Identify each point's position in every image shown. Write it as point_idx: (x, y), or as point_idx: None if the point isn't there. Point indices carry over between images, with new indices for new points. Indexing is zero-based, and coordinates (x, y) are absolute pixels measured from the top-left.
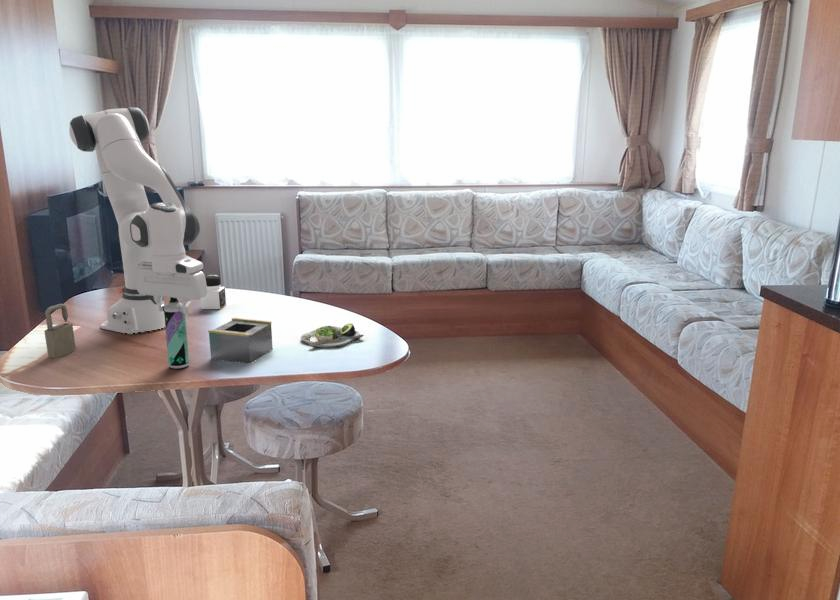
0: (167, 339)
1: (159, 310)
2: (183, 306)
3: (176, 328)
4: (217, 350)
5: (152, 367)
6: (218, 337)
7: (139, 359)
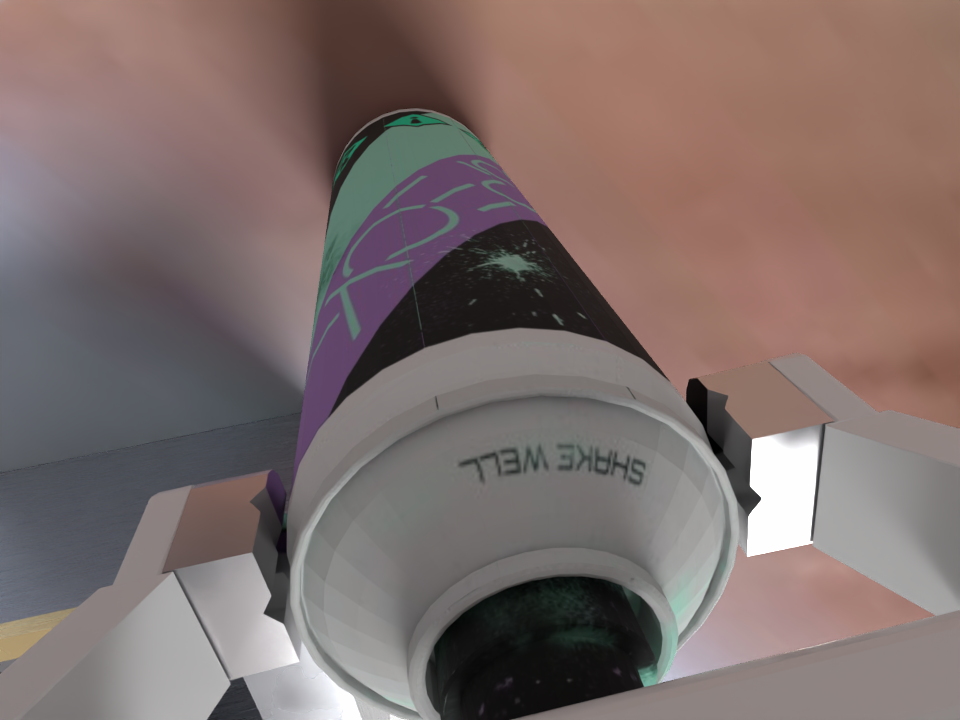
0: (480, 172)
1: (783, 357)
2: (111, 608)
3: (344, 266)
4: (246, 466)
5: (600, 67)
6: None
7: (811, 158)
